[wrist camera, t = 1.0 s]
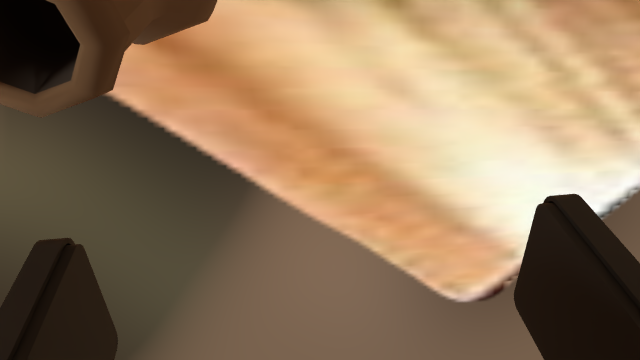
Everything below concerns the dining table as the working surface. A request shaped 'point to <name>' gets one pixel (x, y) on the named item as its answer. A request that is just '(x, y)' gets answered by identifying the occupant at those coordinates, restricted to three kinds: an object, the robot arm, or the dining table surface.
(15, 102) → the beer bottle
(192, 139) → the dining table surface
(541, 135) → the dining table surface
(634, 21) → the dining table surface
